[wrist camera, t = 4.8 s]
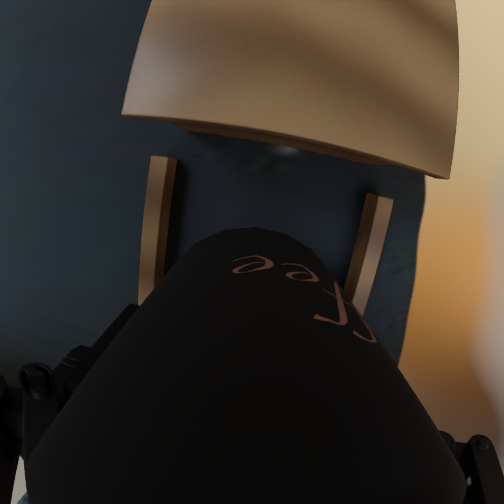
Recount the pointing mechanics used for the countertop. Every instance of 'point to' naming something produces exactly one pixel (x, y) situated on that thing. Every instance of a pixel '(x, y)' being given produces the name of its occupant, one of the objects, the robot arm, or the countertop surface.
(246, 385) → the coffee jar
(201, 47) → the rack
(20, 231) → the countertop surface
